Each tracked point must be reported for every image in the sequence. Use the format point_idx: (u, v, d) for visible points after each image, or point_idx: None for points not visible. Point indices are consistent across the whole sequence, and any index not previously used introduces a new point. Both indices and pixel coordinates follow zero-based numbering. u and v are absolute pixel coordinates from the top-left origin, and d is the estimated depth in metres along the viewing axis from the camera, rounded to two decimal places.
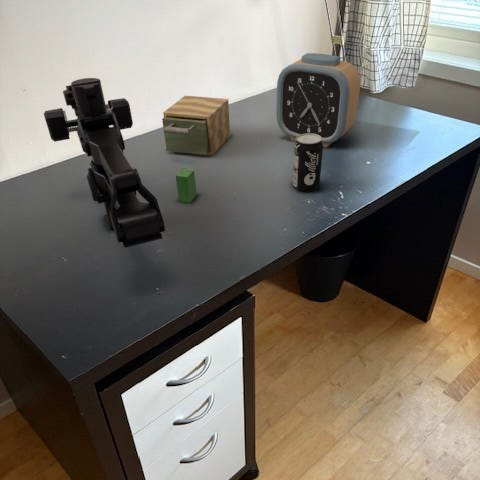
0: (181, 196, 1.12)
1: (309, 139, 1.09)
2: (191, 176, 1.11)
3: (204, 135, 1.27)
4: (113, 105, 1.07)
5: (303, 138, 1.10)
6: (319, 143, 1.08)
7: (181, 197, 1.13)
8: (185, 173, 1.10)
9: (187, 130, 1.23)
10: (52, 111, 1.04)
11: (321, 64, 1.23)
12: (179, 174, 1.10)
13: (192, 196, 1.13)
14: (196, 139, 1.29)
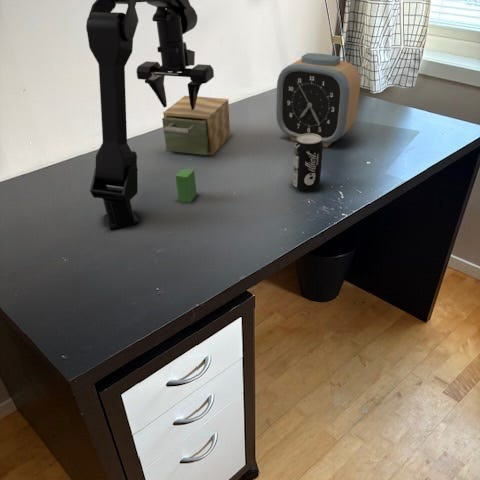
0: (181, 196, 1.12)
1: (309, 139, 1.09)
2: (191, 176, 1.11)
3: (204, 135, 1.27)
4: None
5: (303, 138, 1.10)
6: (319, 143, 1.08)
7: (181, 197, 1.13)
8: (185, 173, 1.10)
9: (187, 130, 1.23)
10: None
11: (321, 64, 1.23)
12: (179, 174, 1.10)
13: (192, 196, 1.13)
14: (196, 139, 1.29)
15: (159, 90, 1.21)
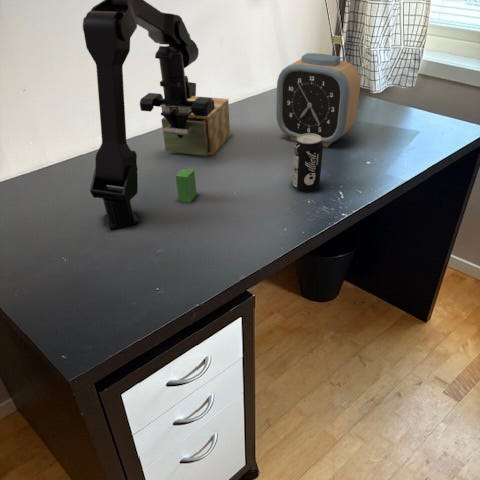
0: (181, 196, 1.12)
1: (309, 139, 1.09)
2: (191, 176, 1.11)
3: (203, 136, 1.27)
4: None
5: (303, 138, 1.10)
6: (319, 143, 1.08)
7: (181, 197, 1.13)
8: (185, 173, 1.10)
9: (186, 131, 1.23)
10: None
11: (321, 64, 1.23)
12: (179, 174, 1.10)
13: (192, 196, 1.13)
14: (196, 140, 1.28)
15: (175, 122, 1.24)
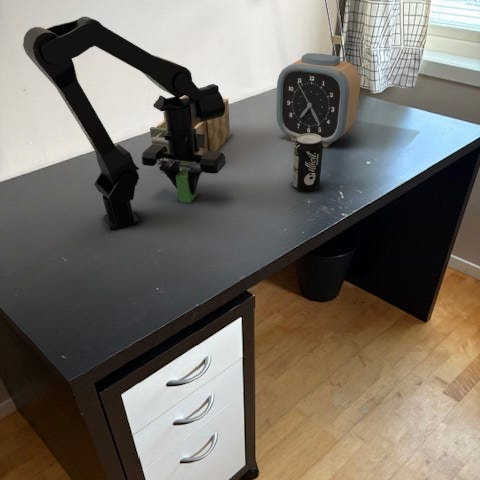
0: (181, 196, 1.12)
1: (309, 139, 1.09)
2: None
3: None
4: None
5: (303, 138, 1.10)
6: (319, 143, 1.08)
7: (181, 197, 1.13)
8: (185, 173, 1.10)
9: None
10: None
11: (321, 64, 1.23)
12: (179, 174, 1.10)
13: (192, 196, 1.13)
14: None
15: (175, 177, 1.10)
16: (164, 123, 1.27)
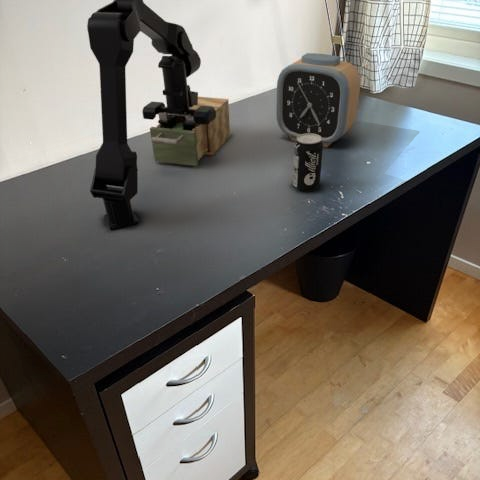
0: None
1: (309, 139, 1.09)
2: None
3: (193, 145, 1.22)
4: None
5: (303, 138, 1.10)
6: (319, 143, 1.08)
7: None
8: (181, 126, 1.26)
9: (175, 141, 1.18)
10: None
11: (321, 64, 1.23)
12: (176, 127, 1.25)
13: None
14: (186, 150, 1.24)
15: None
16: None
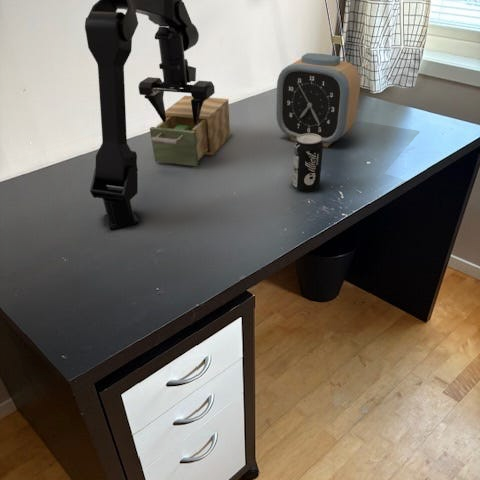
0: None
1: (309, 139, 1.09)
2: None
3: (193, 145, 1.22)
4: None
5: (303, 138, 1.10)
6: (319, 143, 1.08)
7: None
8: (181, 128, 1.26)
9: (175, 141, 1.18)
10: None
11: (321, 64, 1.23)
12: (176, 128, 1.25)
13: None
14: (186, 150, 1.24)
15: (158, 105, 1.23)
16: (164, 123, 1.27)
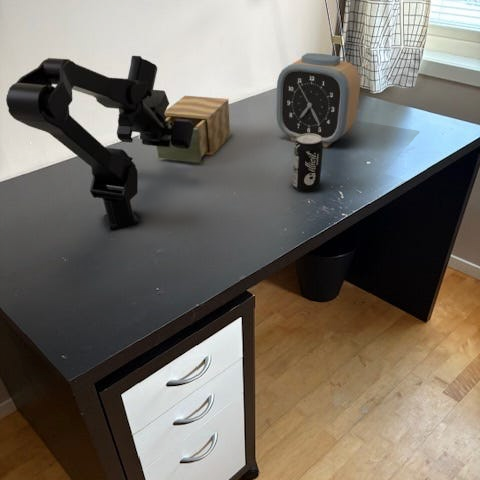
0: None
1: (309, 139, 1.09)
2: None
3: (197, 142, 1.24)
4: (176, 119, 1.11)
5: (303, 138, 1.10)
6: (319, 143, 1.08)
7: None
8: None
9: None
10: None
11: (321, 64, 1.23)
12: None
13: None
14: (189, 147, 1.25)
15: None
16: (167, 120, 1.29)
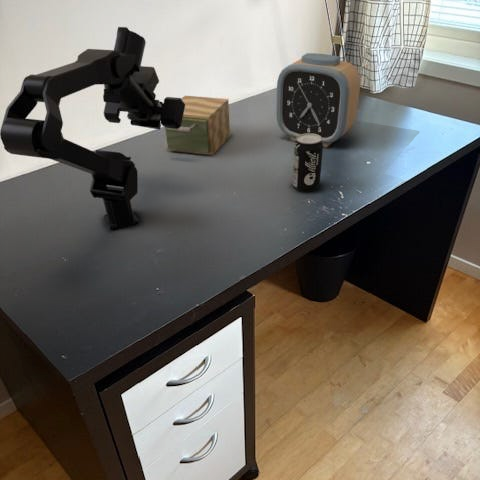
0: None
1: (309, 139, 1.09)
2: None
3: (205, 134, 1.28)
4: (166, 98, 1.05)
5: (303, 138, 1.10)
6: (319, 143, 1.08)
7: None
8: None
9: (189, 129, 1.24)
10: None
11: (321, 64, 1.23)
12: None
13: None
14: (198, 138, 1.30)
15: None
16: None
